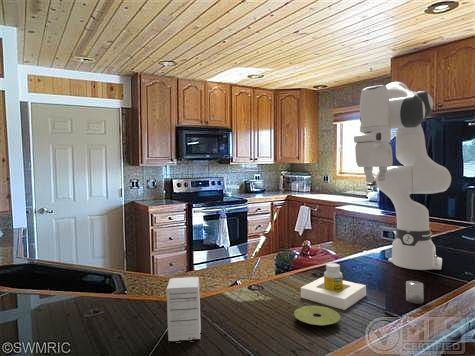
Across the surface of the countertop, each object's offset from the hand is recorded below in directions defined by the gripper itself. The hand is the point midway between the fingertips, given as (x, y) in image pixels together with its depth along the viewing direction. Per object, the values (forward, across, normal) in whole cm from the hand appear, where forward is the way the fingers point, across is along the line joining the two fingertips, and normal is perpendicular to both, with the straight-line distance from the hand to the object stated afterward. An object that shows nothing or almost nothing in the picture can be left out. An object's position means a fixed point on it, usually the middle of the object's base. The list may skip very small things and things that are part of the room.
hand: (376, 181), depth 103 cm
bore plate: (+34, +14, -8) cm, 38 cm away
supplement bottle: (+34, +14, -8) cm, 38 cm away
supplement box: (+34, +58, -23) cm, 71 cm away
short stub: (+34, +2, +11) cm, 36 cm away
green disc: (+34, +32, -3) cm, 47 cm away
